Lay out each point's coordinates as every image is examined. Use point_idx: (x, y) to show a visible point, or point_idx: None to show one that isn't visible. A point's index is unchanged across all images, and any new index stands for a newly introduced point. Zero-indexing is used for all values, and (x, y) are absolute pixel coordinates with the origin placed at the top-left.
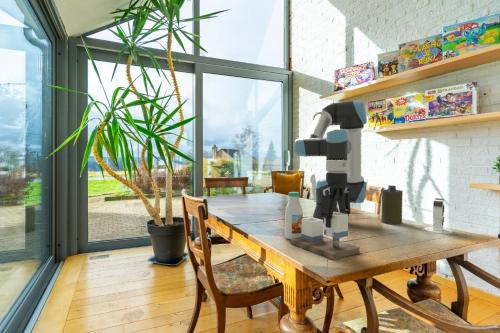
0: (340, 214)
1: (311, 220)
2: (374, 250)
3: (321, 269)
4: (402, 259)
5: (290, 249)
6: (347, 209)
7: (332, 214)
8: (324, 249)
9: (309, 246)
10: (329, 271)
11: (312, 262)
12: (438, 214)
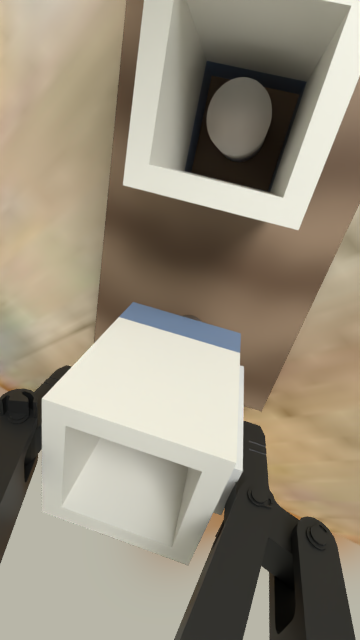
0: (186, 504)
1: (325, 22)
2: (336, 433)
3: (6, 344)
4: (280, 506)
5: (57, 101)
6: (274, 606)
7: (24, 490)
8: (114, 303)
9: (108, 210)
10: (15, 367)
11: (23, 295)
12: None
